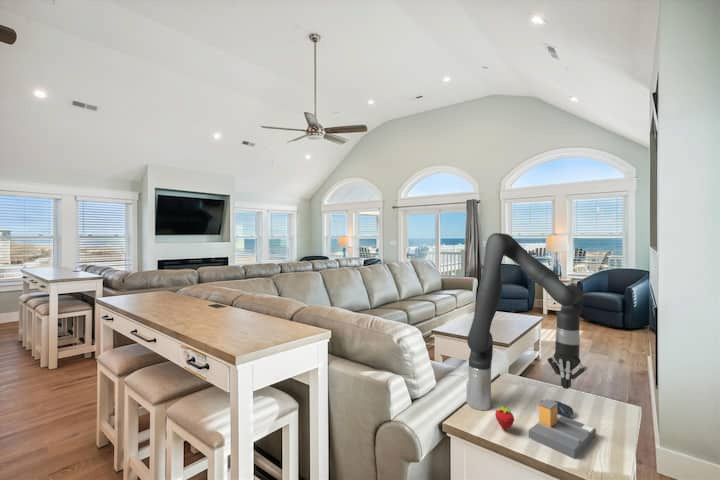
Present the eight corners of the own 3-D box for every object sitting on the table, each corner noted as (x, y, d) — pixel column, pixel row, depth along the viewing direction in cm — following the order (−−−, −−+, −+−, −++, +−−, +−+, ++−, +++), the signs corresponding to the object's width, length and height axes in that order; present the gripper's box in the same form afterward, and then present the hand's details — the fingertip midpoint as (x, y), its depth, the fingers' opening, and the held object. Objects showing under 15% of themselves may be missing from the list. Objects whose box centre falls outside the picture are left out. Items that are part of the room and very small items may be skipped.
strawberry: (504, 437, 128) (504, 410, 128) (491, 426, 136) (491, 400, 135) (518, 434, 130) (518, 408, 130) (504, 424, 137) (504, 398, 137)
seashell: (578, 412, 141) (560, 390, 149) (560, 418, 138) (542, 395, 146) (572, 420, 144) (554, 398, 152) (554, 426, 142) (537, 404, 150)
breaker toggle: (538, 422, 132) (538, 403, 132) (546, 417, 136) (546, 398, 136) (550, 427, 129) (550, 408, 129) (557, 422, 133) (557, 403, 132)
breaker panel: (528, 437, 128) (528, 427, 128) (552, 419, 141) (552, 410, 141) (574, 458, 116) (574, 447, 116) (595, 436, 129) (595, 426, 129)
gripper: (543, 337, 130) (542, 384, 130) (583, 347, 119) (582, 398, 120) (552, 334, 134) (551, 379, 135) (592, 343, 124) (590, 391, 124)
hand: (565, 387), depth 127 cm, fingers closed
